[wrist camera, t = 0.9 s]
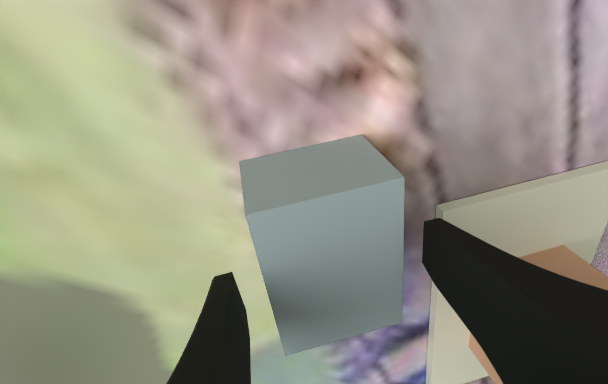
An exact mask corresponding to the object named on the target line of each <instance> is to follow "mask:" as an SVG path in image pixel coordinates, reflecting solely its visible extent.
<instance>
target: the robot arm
mask: <svg viewBox="0 0 608 384" xmlns="http://www.w3.org/2000/svg"><path fill="white" fill-rule="evenodd" d="M422 263H423V264H424V266H425V268H426V270H427V272H428V274H429V275H430V277H431V279H432V281H433V282H434V284H435V286H436V287H437V288H438V290H439V291H440V292H441V294H442V295H443V297H444V298H445V299H446V301H447V302H448V303H449V305H450V306H451V307H452V309H453V310H454V311H455V313H456V314H457V315H458V316H459V318H460V319H461V320H462V322H463V323H464V324H465V326H466V327H467V328H468V330H469V331H470V332H471V334H472V335H473V336H474V338H475V339H476V341H477V342H478V344H479V345H480V346H481V348H482V349H483V351H484V353H485V354H486V356H487V358H488V359H489V361H490V362H491V364H492V366H493V367H494V369H495V371H496V372H497V374H498V376H499V377H500V379H501V381H502V382H503V384H608V290H605V289H602V288H598V287H595V286H592V285H589V284H586V283H583V282H579V281H576V280H573V279H571V278H568V277H565V276H562V275H559V274H557V273H554V272H552V271H549V270H546V269H544V268H541V267H539V266H536V265H534V264H531V263H529V262H527V261H525V260H522V259H520V258H518V257H516V256H513V255H511V254H509V253H507V252H505V251H503V250H501V249H499V248H497V247H495V246H493V245H491V244H489V243H487V242H485V241H483V240H481V239H479V238H477V237H475V236H473V235H471V234H469V233H468V232H466V231H464V230H462V229H460V228H458V227H456V226H455V225H453V224H451V223H449V222H447V221H445V220H443V219H441V218H436V219H433V220H429V221H425V222H424V233H423V257H422ZM167 384H251V371H250V336H249V328H248V321H247V314H246V309H245V306H244V303H243V301H242V298H241V295H240V293H239V290H238V287H237V284H236V282H235V279H234V276H233V273H232V272H230V273H226V274H222V275H219V276H215V277H214V278H213V280H212V283H211V286H210V289H209V292H208V295H207V298H206V301H205V303H204V306H203V309H202V311H201V314H200V316H199V319H198V321H197V323H196V326H195V328H194V331H193V333H192V335H191V337H190V339H189V341H188V343H187V346H186V348H185V350H184V352H183V354H182V356H181V358H180V360H179V362H178V364H177V366H176V368H175V369H174V371H173V373H172V375H171V377H170V378H169V380H168V382H167Z"/></svg>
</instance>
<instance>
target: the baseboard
mask: <svg viewBox="0 0 608 384" xmlns="http://www.w3.org/2000/svg"><path fill="white" fill-rule="evenodd" d="M436 218H441V219H443V220H445V221H447V222H449V223H451V224H453V225H455V226H456V227H458V228H460V229H462V230H464V231H466V232H468V233H469V234H471V235H473V236H475V237H477V238H479V239H481V240H483V241H485V242H487V243H489V244H491V245H493V246H495V247H497V248H499V249H501V250H503V251H505V252H507V253H509V254H511V255H513V256H516V257H522V256H525V255H529V254H532V253H536V252H539V251H543V250H547V249H550V248H554V247H557V246H561V245H565V246H566V247H567V248H569V249H570V250H571V251H573V252H574V253H576V254H577V255H578V256H580V257H581V258H582V259H584V260H585V261H586V262H588V263H589V264H591V263H592V261H593V258H594V256H595V253H596V250H597V248H598V245H599V243H600V240H601V238H602V235H603V233H604V230H605V227H606V225H607V222H608V161H605V162H601V163H597V164H594V165H590V166H586V167H582V168H578V169H574V170H570V171H567V172H563V173H559V174H555V175H551V176H547V177H543V178H539V179H536V180H532V181H528V182H524V183H520V184H516V185H512V186H508V187H505V188H501V189H497V190H493V191H489V192H485V193H481V194H477V195H474V196H470V197H466V198H462V199H458V200H454V201H450V202H446V203H443V204H439V205H436ZM470 333H471V332H470V331H469V330H468V328H467V327H466V326H465V324H464V323H463V322H462V320H461V319H460V318H459V316H458V315H457V314H456V313H455V311H454V310H453V309H452V307H451V306H450V305H449V303H448V302H447V301H446V299H445V298H444V297H443V295H442V294H441V292H440V291H439V290H438V288H437V287H436V286H435V284H434V282H433V281H432V287H431V304H430V320H429V336H428V353H427V369H426V384H464V383H467V382H470V381H474V380H477V379H480V378H483V377H486V376H489V375H488V373H487V372H486V370H485V369H484V368H483V366H482V365H481V363H480V362H479V360H478V359H477V358H476V356H475V355H474V353H473V352H472V351H471V349H470V348H469V346H468V345H469V339H470Z"/></svg>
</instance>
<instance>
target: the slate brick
mask: <svg viewBox="0 0 608 384" xmlns="http://www.w3.org/2000/svg"><path fill="white" fill-rule="evenodd" d="M239 164H240V173H241V182H242V190H243V199H244V208H245V216H246V219H247V223H248V226H249V230H250V233H251V237H252V240H253V244H254V247H255V251H256V254H257V258H258V261H259V265H260V268H261V272H262V275H263V279H264V282H265V286H266V289H267V293H268V296H269V300H270V303H271V307H272V310H273V314H274V317H275V321H276V324H277V328H278V331H279V335H280V338H281V342H282V345H283V349H284V352H285V356H287V355H290V354H294V353H297V352H301V351H304V350H308V349H311V348H315V347H318V346H322V345H325V344H329V343H332V342H336V341H339V340H343V339H346V338H350V337H353V336H357V335H360V334H364V333H367V332H371V331H374V330H378V329H381V328H385V327H388V326H392V325H395V324H399V323H402V319H403V253H404V188H405V177H404V176H403V175H402V174H401V173H400V172H399V171H398V170H397V169H396V168H395V167H394V166H393V165H392V164H391V163H390V162H389V161H388V160H387V159H386V158H385V157H384V156H383V155H382V154H381V153H380V152H379V151H378V150H377V149H376V148H375V147H374V146H373V145H372V144H371V143H370V142H369V141H368V140H367V139H366V138H365V137H364V136H363V135H362V134H361V135H356V136H352V137H347V138H343V139H338V140H334V141H329V142H325V143H320V144H315V145H311V146H306V147H302V148H297V149H293V150H288V151H284V152H279V153H274V154H270V155H265V156H261V157H256V158H252V159H247V160H243V161H239Z"/></svg>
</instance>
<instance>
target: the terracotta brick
mask: <svg viewBox="0 0 608 384" xmlns="http://www.w3.org/2000/svg"><path fill="white" fill-rule="evenodd" d="M518 258H520V259H522V260H525V261H527V262H529V263H531V264H534V265H536V266H539V267H541V268H544V269H546V270H549V271H552V272H554V273H557V274H559V275H562V276H565V277H568V278H571V279H573V280H576V281H579V282H583V283H586V284H589V285H592V286H595V287H598V288H602V289H605V290H608V277H607V276H606V275H604V274H603V273H602V272H600V271H599V270H597V269H596V268H595V267H593V266H592V265H591V264H589V263H588V262H586V261H585V260H584V259H582V258H581V257H580V256H578V255H577V254H576V253H574V252H573V251H571V250H570V249H569V248H567V247H566V246H565V245H561V246H557V247H554V248H550V249H547V250H543V251H539V252H536V253H532V254H529V255H525V256H522V257H518ZM468 346H469V348H470V349H471V351H472V352H473V353H474V355H475V356H476V358H477V359H478V360H479V362H480V363H481V365H482V366H483V368H484V369H485V370H486V372H487V373H488V375H489V376H490V378H491V379H492V380H493V382H494V383H495V384H503V382H502V381H501V379H500V377H499V376H498V374H497V372H496V371H495V369H494V367H493V366H492V364H491V362H490V361H489V359H488V358H487V356H486V354H485V353H484V351H483V349H482V348H481V346H480V345H479V344H478V342H477V341H476V339H475V338H474V336H473V335H472V334H471V333H470V339H469V345H468Z"/></svg>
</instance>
